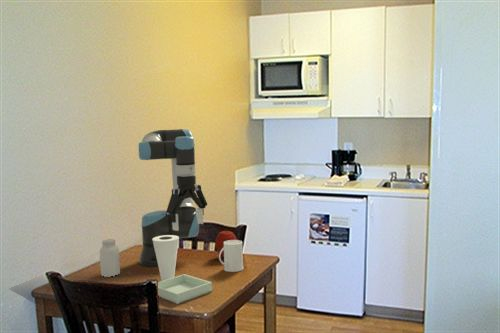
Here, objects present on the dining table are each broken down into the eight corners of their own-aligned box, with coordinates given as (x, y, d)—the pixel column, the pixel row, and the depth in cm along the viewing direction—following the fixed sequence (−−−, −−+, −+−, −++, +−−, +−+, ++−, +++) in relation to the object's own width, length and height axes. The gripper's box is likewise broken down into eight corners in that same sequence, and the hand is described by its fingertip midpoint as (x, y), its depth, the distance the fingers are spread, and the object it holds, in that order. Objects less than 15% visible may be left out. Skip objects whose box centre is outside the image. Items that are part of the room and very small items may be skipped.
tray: (150, 293, 193) (149, 284, 192) (184, 282, 205) (184, 273, 204) (177, 304, 181) (177, 294, 181) (212, 291, 193) (211, 282, 193)
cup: (157, 277, 212) (155, 235, 211) (182, 277, 212) (181, 234, 210) (151, 286, 202) (149, 241, 200) (178, 285, 201) (176, 241, 200)
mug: (224, 274, 213) (223, 246, 212) (213, 270, 220) (212, 243, 219) (247, 269, 220) (246, 242, 219) (236, 265, 227) (235, 238, 226)
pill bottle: (114, 270, 224) (112, 237, 222) (123, 274, 218) (121, 240, 217) (97, 275, 218) (95, 240, 217) (106, 278, 213) (104, 243, 211)
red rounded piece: (225, 262, 232) (224, 232, 230) (211, 258, 239) (210, 229, 238) (241, 257, 239) (241, 228, 237) (228, 253, 246) (227, 225, 245)
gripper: (168, 179, 192) (170, 234, 194) (214, 172, 211) (216, 222, 213) (155, 178, 197) (158, 231, 199) (201, 171, 216) (203, 220, 218)
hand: (188, 226), depth 206 cm, fingers open, 13 cm apart
